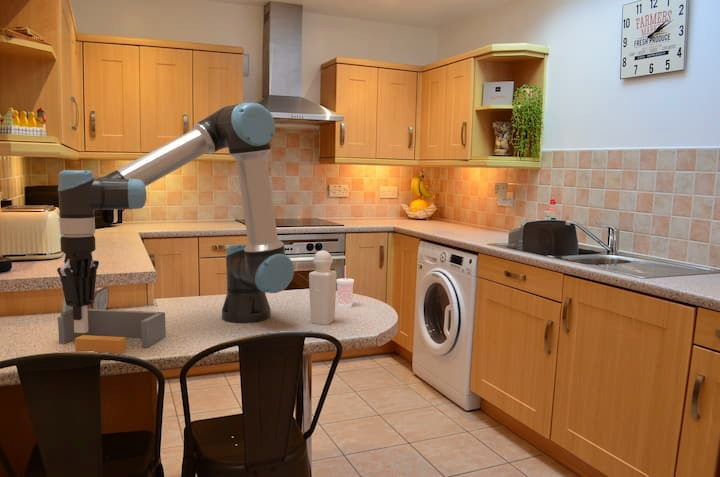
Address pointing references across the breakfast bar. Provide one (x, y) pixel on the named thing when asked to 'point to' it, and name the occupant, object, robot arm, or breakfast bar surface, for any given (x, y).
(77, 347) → the orange block
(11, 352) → the breakfast bar surface
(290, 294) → the breakfast bar surface
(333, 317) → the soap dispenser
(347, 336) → the breakfast bar surface
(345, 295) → the beverage cup
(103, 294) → the tin
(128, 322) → the grey u-shaped bracket
